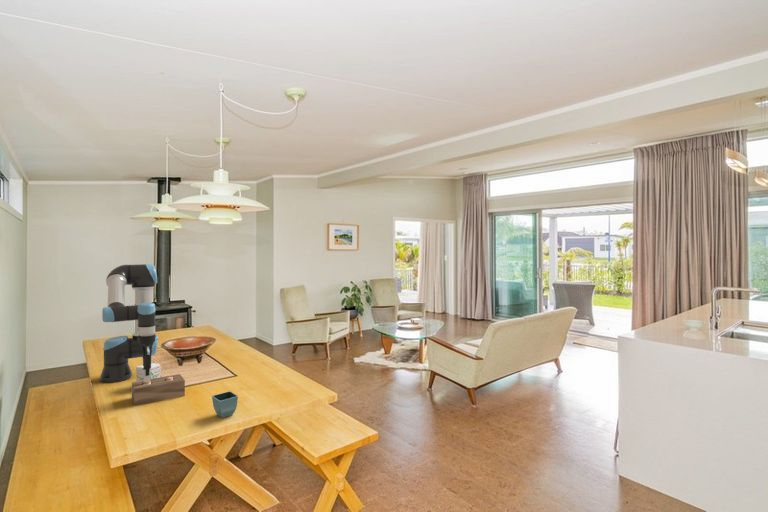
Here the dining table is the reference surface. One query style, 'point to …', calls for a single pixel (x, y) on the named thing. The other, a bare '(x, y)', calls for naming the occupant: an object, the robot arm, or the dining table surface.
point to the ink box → (154, 372)
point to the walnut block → (158, 389)
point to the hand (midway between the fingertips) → (147, 381)
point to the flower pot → (225, 403)
